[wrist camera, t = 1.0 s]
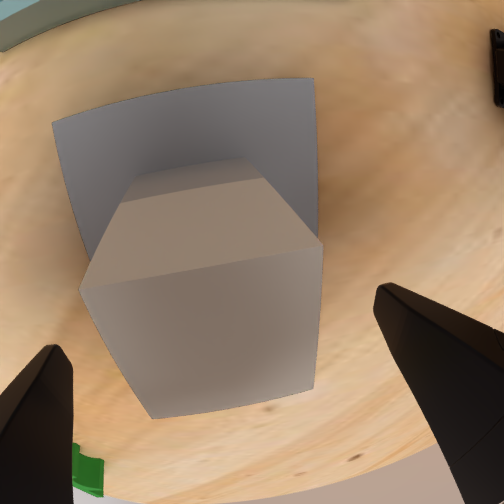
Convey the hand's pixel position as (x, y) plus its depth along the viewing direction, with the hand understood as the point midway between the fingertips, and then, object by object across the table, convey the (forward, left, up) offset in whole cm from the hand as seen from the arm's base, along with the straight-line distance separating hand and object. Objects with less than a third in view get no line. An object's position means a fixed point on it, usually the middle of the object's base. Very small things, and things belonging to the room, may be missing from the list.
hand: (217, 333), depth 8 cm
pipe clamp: (+21, +26, -9) cm, 35 cm away
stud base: (0, 0, -9) cm, 9 cm away
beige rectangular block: (0, 0, -8) cm, 8 cm away
